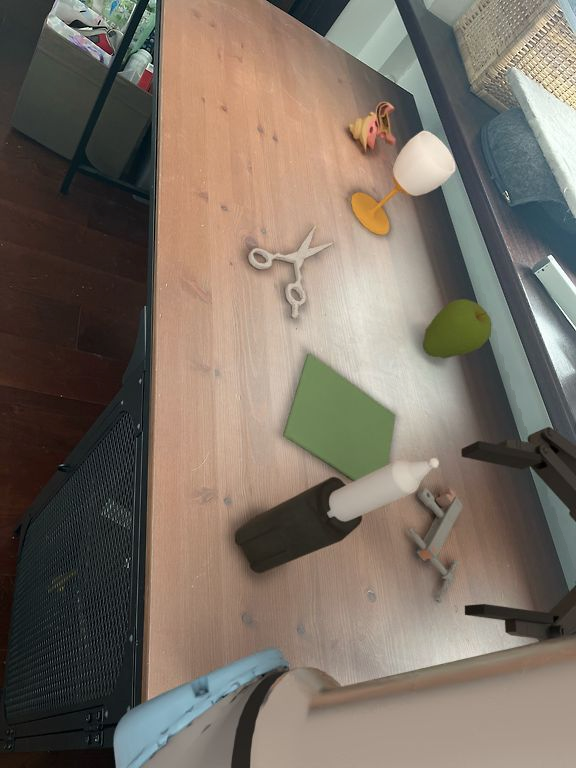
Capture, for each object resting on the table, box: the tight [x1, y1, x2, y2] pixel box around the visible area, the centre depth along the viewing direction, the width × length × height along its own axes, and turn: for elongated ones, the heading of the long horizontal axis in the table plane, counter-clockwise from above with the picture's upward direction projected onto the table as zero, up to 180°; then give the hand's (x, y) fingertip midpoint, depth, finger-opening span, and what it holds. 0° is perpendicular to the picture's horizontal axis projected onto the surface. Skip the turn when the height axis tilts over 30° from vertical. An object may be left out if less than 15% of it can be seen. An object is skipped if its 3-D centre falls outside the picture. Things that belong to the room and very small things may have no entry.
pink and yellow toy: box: [349, 101, 397, 154], centre depth 119 cm, size 9×10×10 cm
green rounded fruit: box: [422, 298, 493, 359], centre depth 98 cm, size 9×8×12 cm
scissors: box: [247, 224, 335, 319], centre depth 90 cm, size 11×1×20 cm
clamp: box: [407, 487, 464, 605], centre depth 81 cm, size 15×2×10 cm
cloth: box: [283, 352, 396, 482], centre depth 81 cm, size 14×16×1 cm
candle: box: [234, 457, 440, 574], centre depth 57 cm, size 5×5×25 cm
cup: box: [350, 130, 456, 236], centre depth 104 cm, size 9×9×16 cm
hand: (471, 524), depth 52 cm, fingers open, 13 cm apart
